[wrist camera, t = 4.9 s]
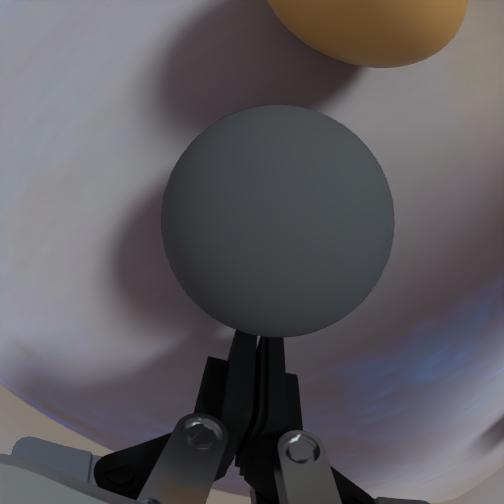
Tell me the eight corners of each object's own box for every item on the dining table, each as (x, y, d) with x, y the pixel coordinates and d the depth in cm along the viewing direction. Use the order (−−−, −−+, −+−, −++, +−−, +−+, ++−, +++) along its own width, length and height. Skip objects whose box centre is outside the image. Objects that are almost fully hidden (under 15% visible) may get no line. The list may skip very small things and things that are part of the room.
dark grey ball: (282, 397, 8) (293, 263, 12) (471, 301, 5) (404, 169, 9) (91, 302, 6) (171, 181, 10) (220, 71, 3) (267, 49, 7)
